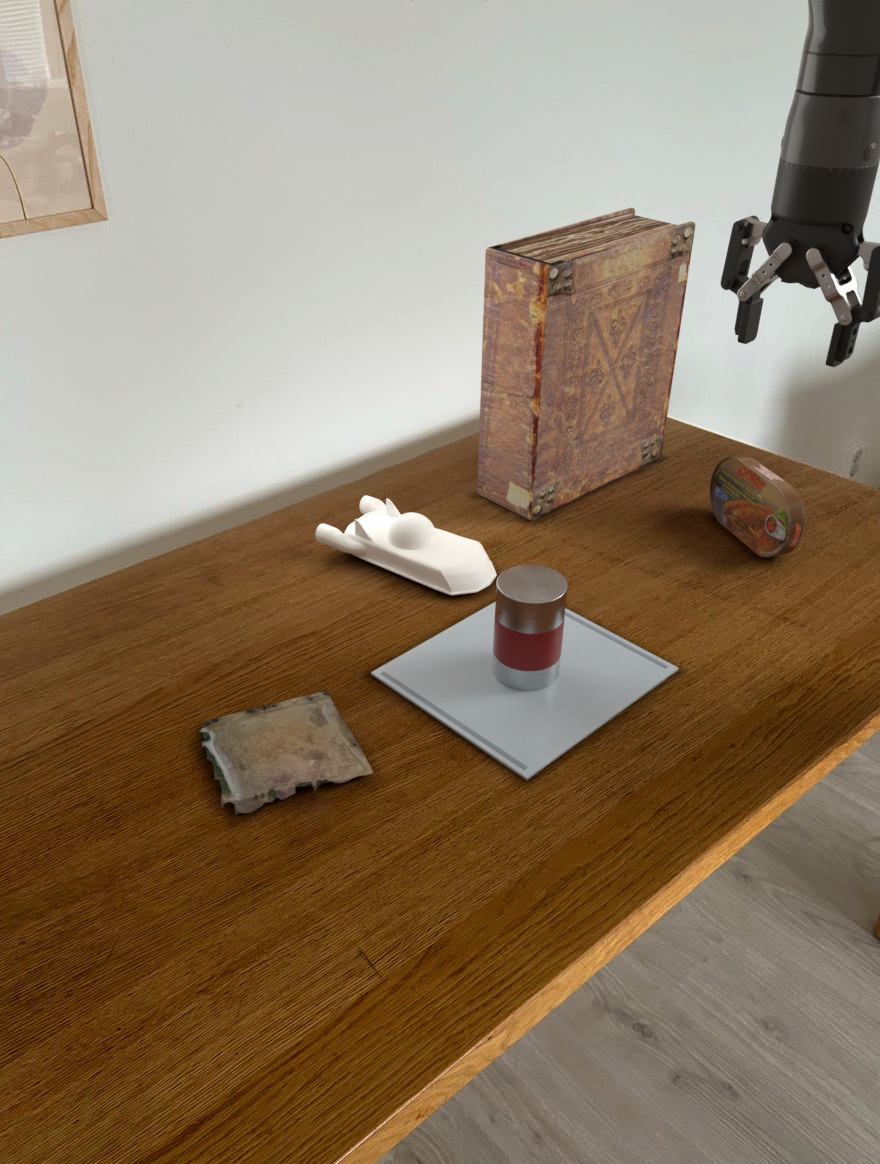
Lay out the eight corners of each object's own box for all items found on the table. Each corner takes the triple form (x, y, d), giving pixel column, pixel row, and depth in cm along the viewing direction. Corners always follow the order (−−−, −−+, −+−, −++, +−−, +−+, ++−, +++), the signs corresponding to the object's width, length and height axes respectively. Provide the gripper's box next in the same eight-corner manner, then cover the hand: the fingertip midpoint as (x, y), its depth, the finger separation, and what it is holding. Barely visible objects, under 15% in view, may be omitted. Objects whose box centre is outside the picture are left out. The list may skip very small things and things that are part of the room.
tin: (703, 509, 123) (715, 445, 118) (725, 505, 124) (738, 441, 119) (775, 572, 112) (791, 504, 107) (799, 567, 112) (817, 500, 107)
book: (607, 436, 140) (634, 206, 122) (661, 458, 134) (698, 220, 117) (476, 495, 127) (484, 247, 109) (530, 523, 121) (549, 265, 103)
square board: (678, 670, 98) (679, 667, 98) (526, 780, 86) (527, 777, 86) (523, 587, 110) (523, 585, 110) (370, 674, 98) (370, 672, 98)
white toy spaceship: (462, 612, 106) (463, 565, 103) (315, 555, 116) (312, 510, 112) (513, 569, 113) (516, 523, 109) (370, 518, 122) (369, 475, 119)
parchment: (194, 726, 92) (193, 718, 91) (331, 693, 95) (331, 685, 95) (225, 820, 82) (223, 811, 82) (375, 779, 86) (375, 770, 85)
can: (572, 670, 98) (582, 583, 92) (528, 700, 94) (535, 611, 88) (522, 642, 101) (528, 556, 95) (478, 669, 98) (481, 582, 92)
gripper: (940, 158, 79) (886, 361, 88) (773, 136, 87) (740, 324, 97) (896, 174, 74) (844, 385, 84) (725, 150, 83) (696, 344, 92)
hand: (789, 352), depth 90 cm, fingers open, 8 cm apart
